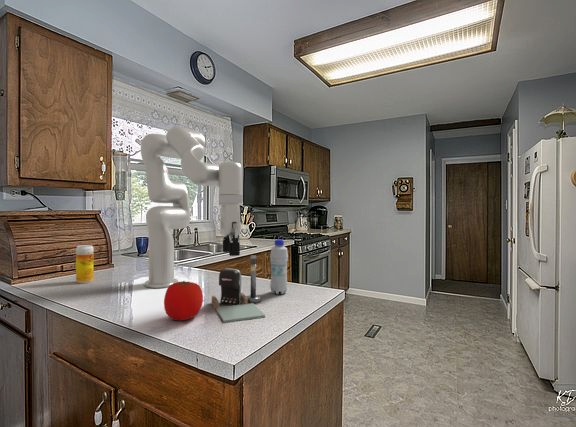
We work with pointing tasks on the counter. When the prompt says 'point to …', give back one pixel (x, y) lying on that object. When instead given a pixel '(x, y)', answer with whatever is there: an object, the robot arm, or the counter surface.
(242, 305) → the mat
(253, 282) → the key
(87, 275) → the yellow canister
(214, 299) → the holder
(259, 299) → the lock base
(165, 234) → the robot arm
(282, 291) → the bottle
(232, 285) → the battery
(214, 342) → the counter surface
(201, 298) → the tomato
